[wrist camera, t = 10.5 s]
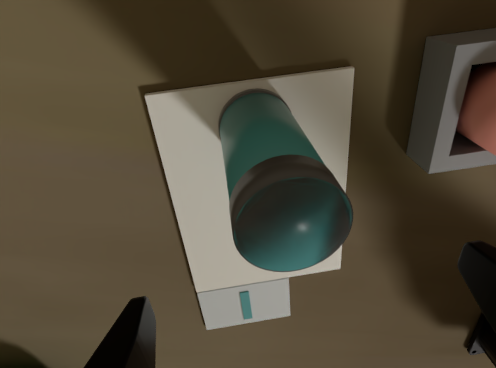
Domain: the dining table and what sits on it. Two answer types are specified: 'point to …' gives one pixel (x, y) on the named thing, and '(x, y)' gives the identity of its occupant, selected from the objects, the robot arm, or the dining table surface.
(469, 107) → the button
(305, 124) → the paper
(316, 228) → the canister
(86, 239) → the dining table surface
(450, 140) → the button housing
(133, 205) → the dining table surface
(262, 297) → the card
